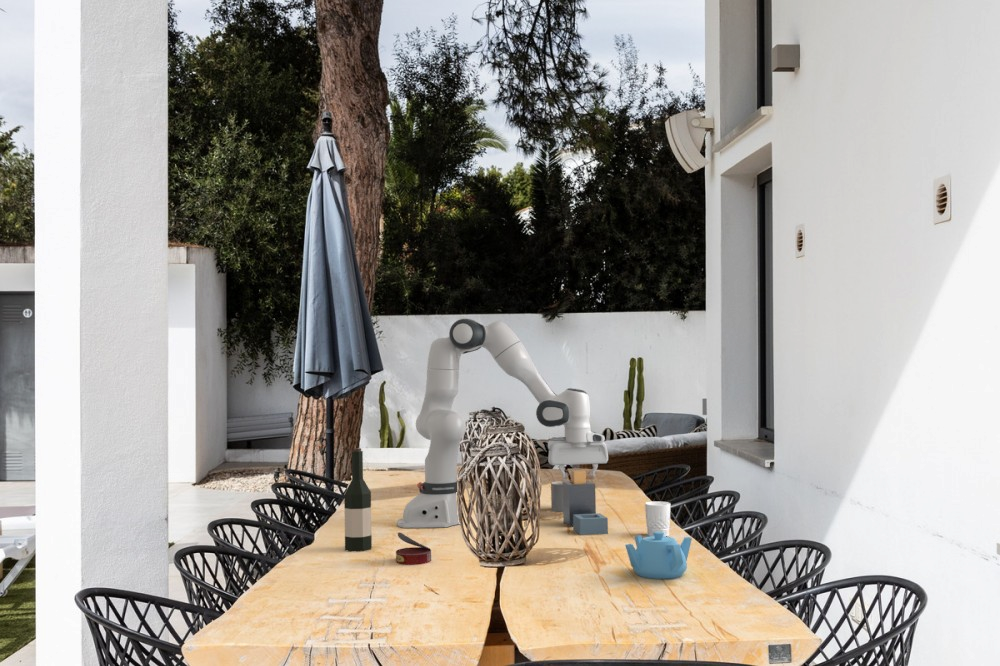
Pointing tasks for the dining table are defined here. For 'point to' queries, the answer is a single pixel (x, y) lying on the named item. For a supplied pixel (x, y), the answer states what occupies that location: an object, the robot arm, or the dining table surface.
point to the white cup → (657, 517)
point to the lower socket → (590, 524)
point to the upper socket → (578, 500)
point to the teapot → (659, 556)
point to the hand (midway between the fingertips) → (578, 477)
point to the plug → (578, 476)
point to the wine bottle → (357, 508)
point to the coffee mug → (557, 496)
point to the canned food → (412, 553)
